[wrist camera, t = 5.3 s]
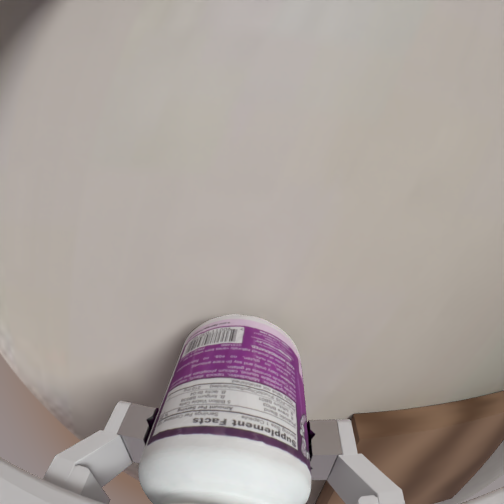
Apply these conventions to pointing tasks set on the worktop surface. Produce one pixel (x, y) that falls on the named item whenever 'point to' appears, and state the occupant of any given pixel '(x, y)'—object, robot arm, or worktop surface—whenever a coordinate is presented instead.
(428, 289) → the worktop surface
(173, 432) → the pill bottle
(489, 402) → the walnut board
